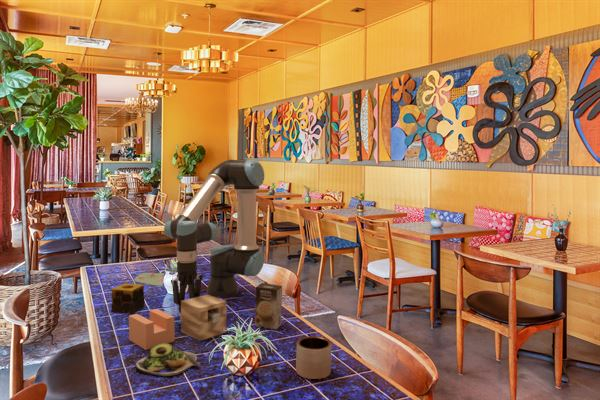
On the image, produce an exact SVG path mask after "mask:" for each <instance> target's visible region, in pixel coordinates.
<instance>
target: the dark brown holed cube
mask: <svg viewBox="0 0 600 400" xmlns="http://www.w3.org/2000/svg"><path fill="white" fill-rule="evenodd" d="M145 302H146V301H145V284H139V283H122V284H120V285H118V286H115V287H114V288H111V312H113V313H117V314H118V313H119V314H130V315H134V313H135V314H136V312H138V311H140V310H141V309H143V308H144V307H145Z"/></svg>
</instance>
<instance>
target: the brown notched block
mask: <svg viewBox="0 0 600 400" xmlns="http://www.w3.org/2000/svg"><path fill="white" fill-rule="evenodd" d="M210 309H211V310H214V311H216V312H219V313H220V321H219V322H215V323H212V322H210V321H208V310H210ZM180 329H181V330H180V332H181V333H182V334H184V335H187V336H189V337H191V338H192V339H195V340H196V341H199V342H201V341H204V340H207V339H210V338H214V337H216V336H220V335H222V334H225V333H227V300H224V299H221V298H220V297H213V296H211V295H208V294H207V293H206V294H204V295H200V296H199V297H195V298H191V299H190V298H187V299H185V300H183V301H181V320H180ZM222 329H226V331H223V330H222Z"/></svg>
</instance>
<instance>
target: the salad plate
mask: <svg viewBox="0 0 600 400" xmlns="http://www.w3.org/2000/svg"><path fill="white" fill-rule="evenodd" d="M148 353H149V354H148V355H146V356H144V357H143V358H141V359H139V360H138V361H136V363H135V368H136V370H138V371H139V372H140V373H143V374H148V375H151V376H152V375H153V376H162V377H171V376H177V375H180V374H183V373H184V372H186V371H187V370H189V369H190V368H192V367H193V366H196V367H197V366H200V365H201V364H200V362H199V361H197V359H198V357H197V355H196V354H195V353H194V352H190V351H189V352H188V351H185V350H181V349H179V348H178V347H176V346H173V345H172V344H170V343H161V344H158V345H156V346H154V347H153V348H151V349H149V352H148ZM167 369H168V370H169V369H170V370H173V371H166V372H159V371H163V370H167Z"/></svg>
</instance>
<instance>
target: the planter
mask: <svg viewBox="0 0 600 400" xmlns="http://www.w3.org/2000/svg"><path fill="white" fill-rule="evenodd" d="M295 354H296V361H295V372H296V374H297V375H299V376H300V377H302V378H304V379H306V378H307V379H306V380H311V379H318V380H323V379H326V378H327V377H329V376H330V375H331V372H332V342H331V340H330V339H328V338H326V337H323V336H318V335H314V336H313V335H311V336H304V337H301V338H299V339H298V340H297V341H296V353H295ZM322 378H323V379H322Z"/></svg>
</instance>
